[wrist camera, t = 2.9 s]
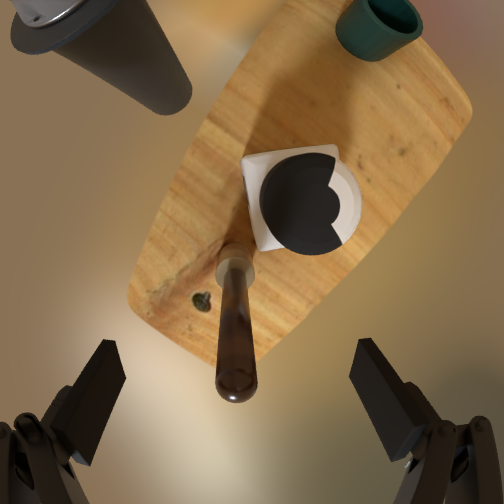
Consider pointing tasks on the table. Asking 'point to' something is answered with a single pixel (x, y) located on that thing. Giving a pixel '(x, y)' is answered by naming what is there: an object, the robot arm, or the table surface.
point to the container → (301, 199)
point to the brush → (235, 326)
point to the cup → (378, 27)
